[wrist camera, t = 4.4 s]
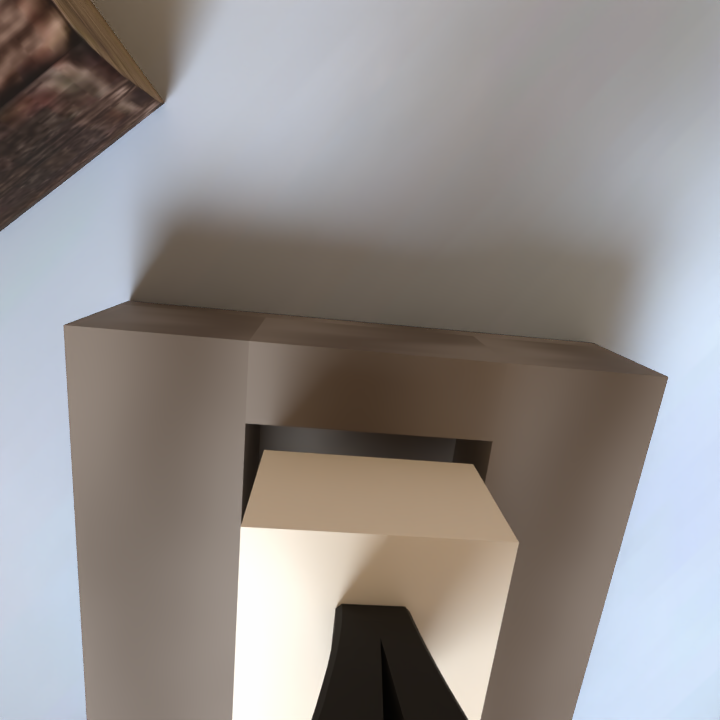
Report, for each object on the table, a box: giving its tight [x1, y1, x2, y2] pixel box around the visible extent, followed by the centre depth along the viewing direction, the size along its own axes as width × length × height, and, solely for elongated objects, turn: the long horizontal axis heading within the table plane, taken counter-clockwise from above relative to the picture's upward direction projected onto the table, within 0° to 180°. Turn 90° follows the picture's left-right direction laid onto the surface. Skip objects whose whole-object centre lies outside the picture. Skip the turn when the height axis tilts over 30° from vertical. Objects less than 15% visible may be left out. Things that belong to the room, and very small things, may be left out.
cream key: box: [232, 450, 519, 720], centre depth 11 cm, size 5×5×3 cm
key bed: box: [64, 301, 668, 720], centre depth 16 cm, size 14×22×4 cm, turn 174°
